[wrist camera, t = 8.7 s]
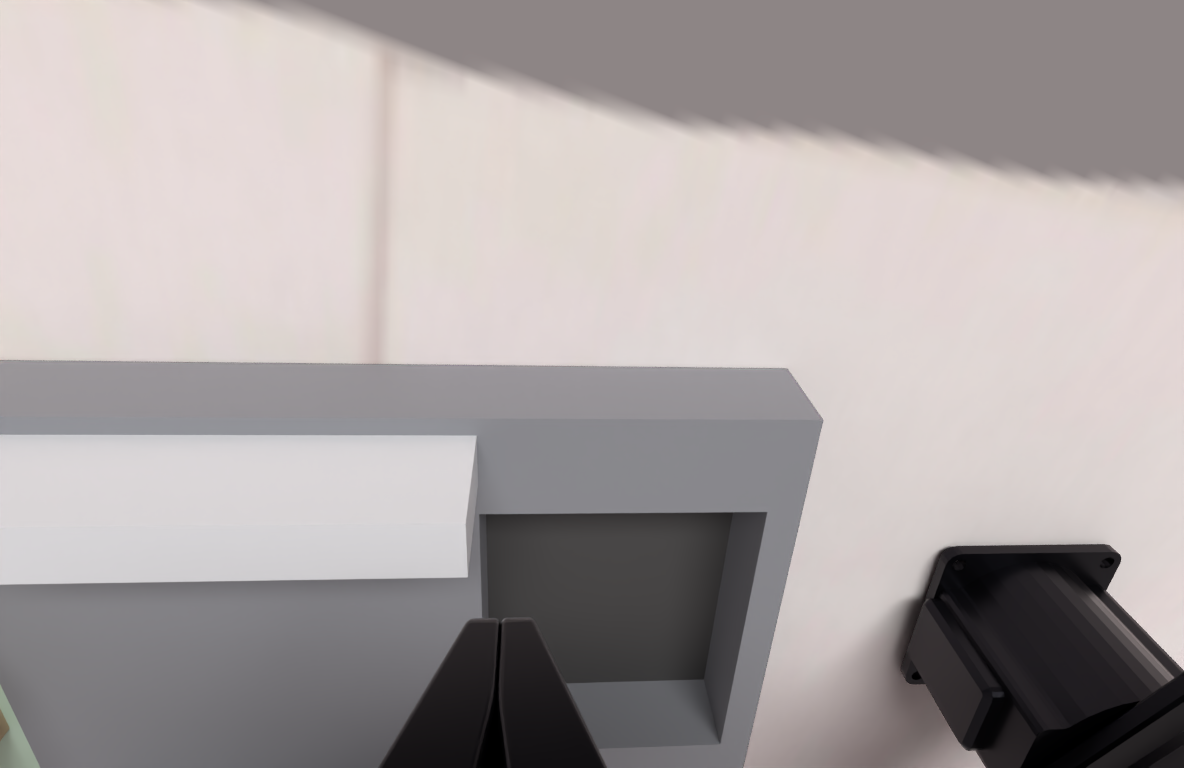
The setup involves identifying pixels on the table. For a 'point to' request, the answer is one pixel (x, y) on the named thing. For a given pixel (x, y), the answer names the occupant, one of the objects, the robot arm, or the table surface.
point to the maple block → (3, 725)
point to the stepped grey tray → (384, 552)
